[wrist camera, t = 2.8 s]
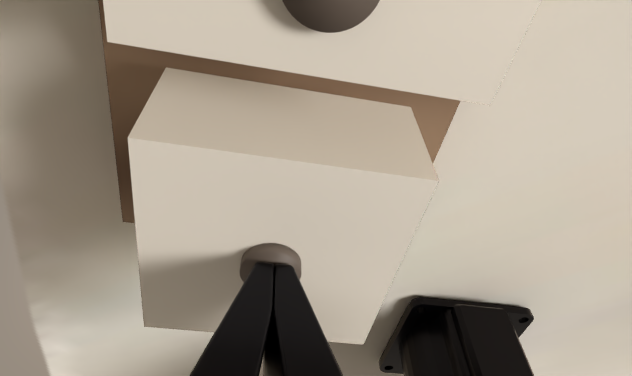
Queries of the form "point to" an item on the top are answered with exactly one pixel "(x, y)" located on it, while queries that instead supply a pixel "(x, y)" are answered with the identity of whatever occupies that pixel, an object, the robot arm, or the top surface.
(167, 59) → the brown flat slab
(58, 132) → the top surface
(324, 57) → the tile two
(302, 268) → the tile one
